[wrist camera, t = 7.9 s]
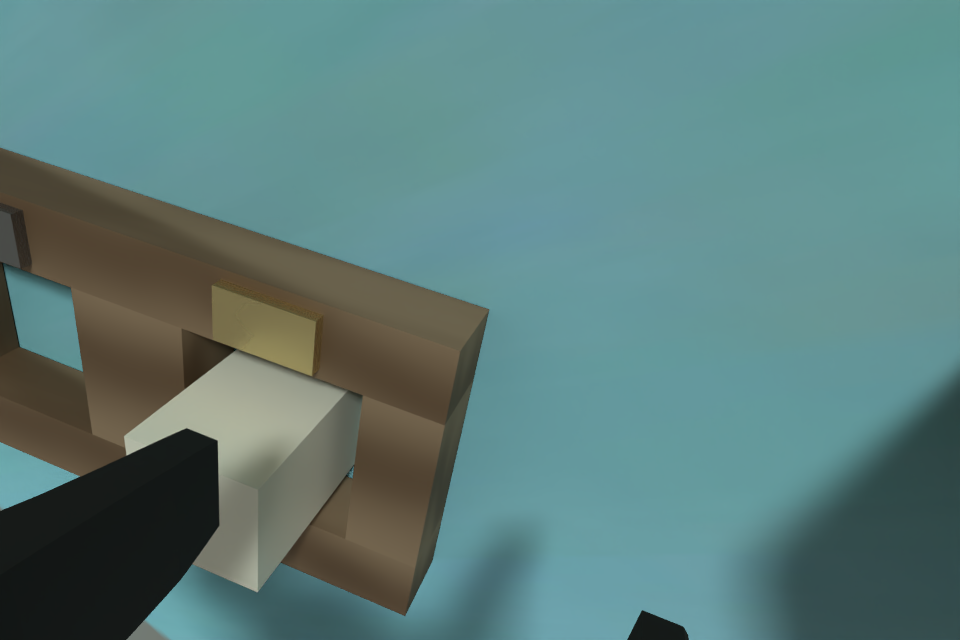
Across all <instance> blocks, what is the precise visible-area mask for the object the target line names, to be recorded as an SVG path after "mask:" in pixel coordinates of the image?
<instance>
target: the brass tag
mask: <svg viewBox="0 0 960 640" xmlns="http://www.w3.org/2000/svg"><path fill="white" fill-rule="evenodd" d="M323 316H324V315H321V314H318V313H316V312H313V311H310V310H307V309H304V308H301V307H298V306H296V305H293V304H290V303H287V302H284V301H281V300H278V299H275V298H273V297H270V296H267V295H264V294H261V293H258V292H255V291H253V290H250V289H247V288H244V287H241V286H238V285H235V284H232V283H230V282H227V281H224V280H219V281H218V282H216V283H214V284H213V285H212V326H213V340H215V341H217V342H220V343H223V344H226V345H228V346H231V347H234V348H236V349H239V350H242V351H245V352H247V353H250V354H253V355H255V356H258V357H261V358H264V359H266V360H269V361H272V362H274V363H277V364H280V365H283V366H285V367H288V368H291V369H293V370H296V371H299V372H301V373H304V374H307V375H310V376H313V375H314V374H315V373H316V372H317V371H318V370H319V368H320V355H321V342H322V329H323Z"/></svg>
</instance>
